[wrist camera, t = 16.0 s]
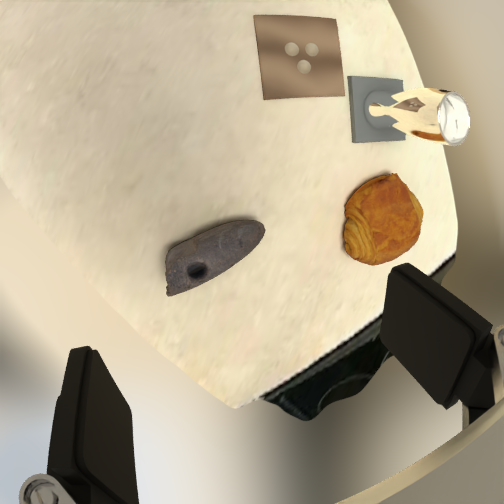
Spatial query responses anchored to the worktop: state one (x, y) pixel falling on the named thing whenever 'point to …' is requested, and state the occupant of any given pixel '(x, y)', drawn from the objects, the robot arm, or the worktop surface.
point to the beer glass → (421, 114)
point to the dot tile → (299, 56)
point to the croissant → (382, 220)
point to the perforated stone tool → (210, 254)
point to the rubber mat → (358, 95)
